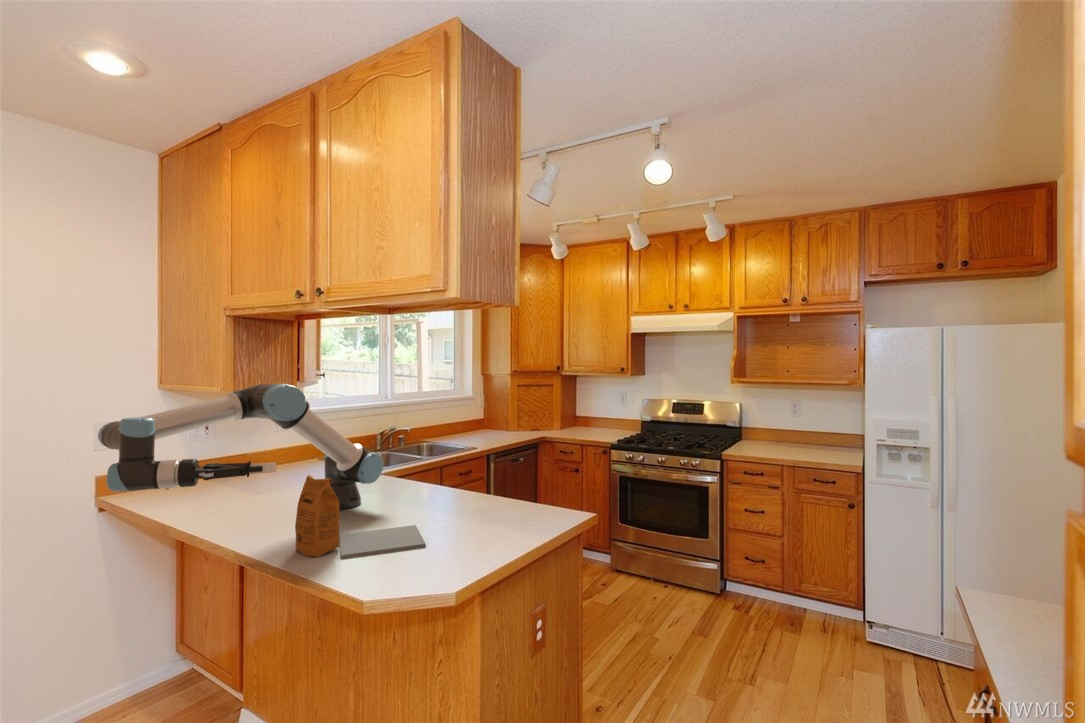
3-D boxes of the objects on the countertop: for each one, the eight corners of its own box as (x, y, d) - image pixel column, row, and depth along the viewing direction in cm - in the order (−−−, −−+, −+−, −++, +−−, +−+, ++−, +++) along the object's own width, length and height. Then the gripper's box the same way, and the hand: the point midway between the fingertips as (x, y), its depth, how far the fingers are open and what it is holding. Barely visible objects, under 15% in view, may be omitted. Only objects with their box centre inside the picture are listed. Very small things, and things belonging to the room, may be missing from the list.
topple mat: (339, 537, 166) (339, 534, 166) (415, 527, 175) (415, 525, 175) (340, 558, 147) (340, 555, 147) (425, 546, 156) (425, 543, 156)
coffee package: (320, 541, 162) (320, 471, 162) (344, 549, 155) (343, 476, 155) (289, 551, 154) (289, 477, 154) (313, 560, 147) (312, 482, 147)
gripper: (185, 482, 148) (277, 475, 157) (172, 492, 136) (273, 484, 145) (186, 456, 148) (278, 451, 157) (173, 463, 136) (273, 457, 145)
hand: (275, 467), depth 151 cm, fingers closed
